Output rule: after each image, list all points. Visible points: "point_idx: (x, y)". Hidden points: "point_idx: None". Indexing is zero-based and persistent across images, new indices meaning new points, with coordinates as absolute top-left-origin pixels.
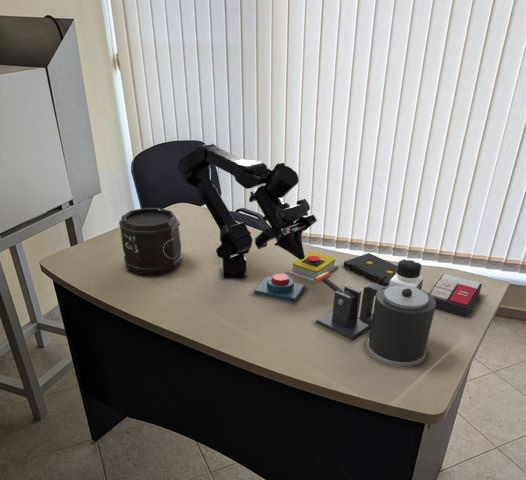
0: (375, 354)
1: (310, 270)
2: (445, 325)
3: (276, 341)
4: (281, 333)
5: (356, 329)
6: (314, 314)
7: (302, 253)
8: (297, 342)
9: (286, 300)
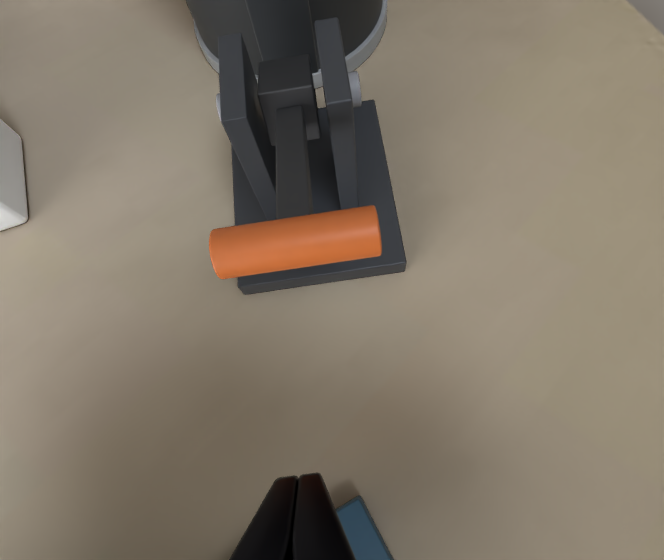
0: (386, 3)
1: None
2: (45, 31)
3: (658, 267)
4: (601, 303)
5: (320, 122)
6: (350, 338)
7: (286, 521)
8: (571, 212)
9: (387, 549)
